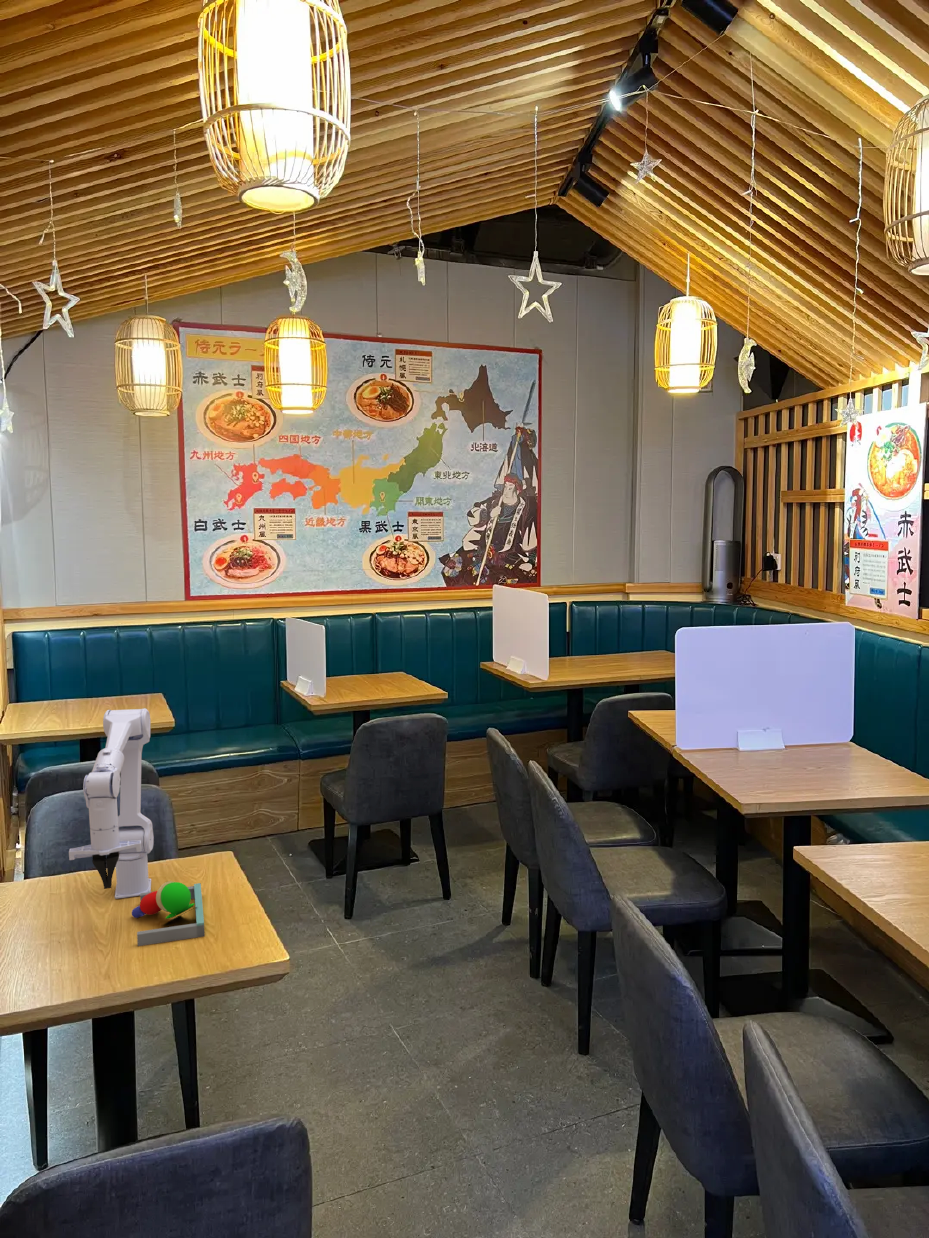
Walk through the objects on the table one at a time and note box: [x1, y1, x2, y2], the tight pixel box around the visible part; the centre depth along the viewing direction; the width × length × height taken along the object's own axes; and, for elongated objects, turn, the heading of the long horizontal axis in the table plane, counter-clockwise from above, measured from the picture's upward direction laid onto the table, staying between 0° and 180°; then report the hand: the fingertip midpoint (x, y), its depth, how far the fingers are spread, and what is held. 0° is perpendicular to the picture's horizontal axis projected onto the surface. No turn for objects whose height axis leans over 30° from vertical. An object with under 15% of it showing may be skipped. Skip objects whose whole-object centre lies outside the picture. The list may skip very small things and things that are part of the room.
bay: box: [136, 882, 206, 947], centre depth 202 cm, size 23×14×3 cm, turn 18°
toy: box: [131, 880, 196, 922], centre depth 201 cm, size 8×8×15 cm
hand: (107, 886), depth 197 cm, fingers closed
